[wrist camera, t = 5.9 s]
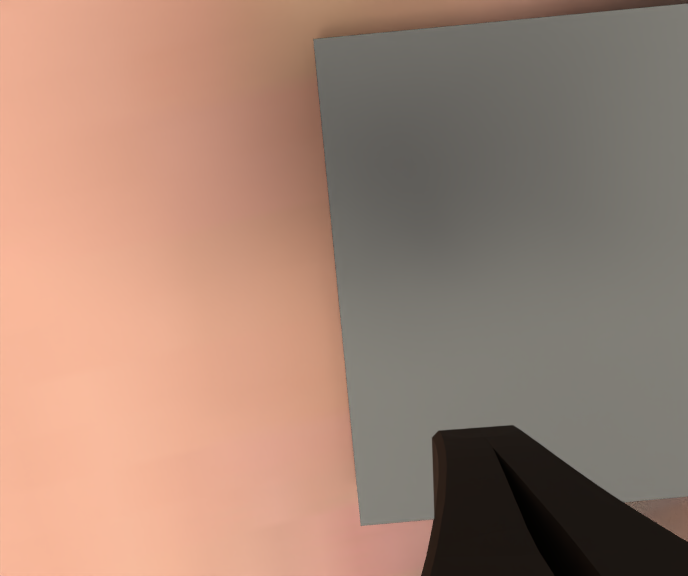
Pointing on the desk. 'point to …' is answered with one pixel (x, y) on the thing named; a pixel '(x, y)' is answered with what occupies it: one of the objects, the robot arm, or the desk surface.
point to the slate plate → (512, 245)
